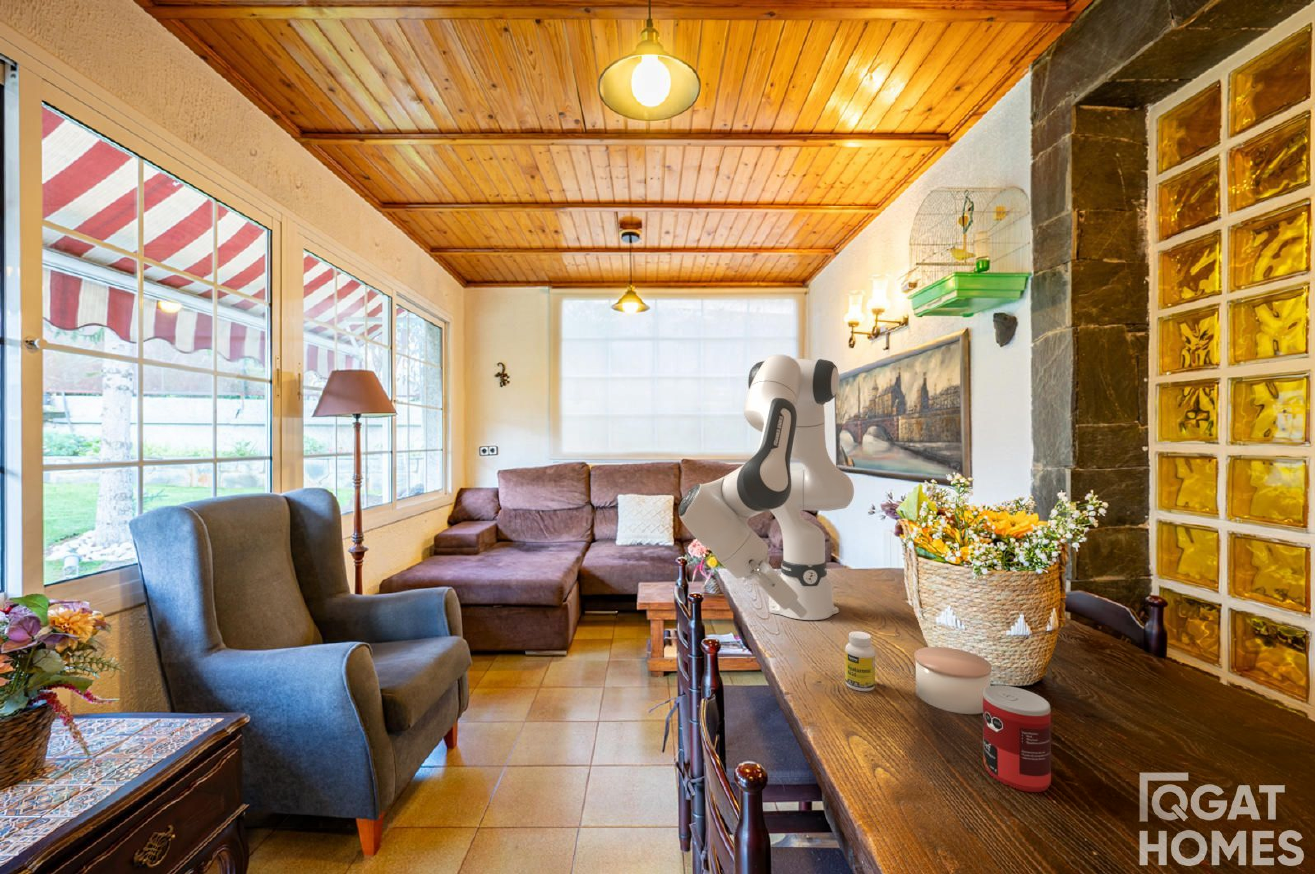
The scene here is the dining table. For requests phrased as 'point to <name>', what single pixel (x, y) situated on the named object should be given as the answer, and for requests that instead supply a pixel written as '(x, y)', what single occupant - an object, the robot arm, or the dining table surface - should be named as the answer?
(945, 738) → the dining table surface
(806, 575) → the robot arm
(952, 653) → the ceramic canister
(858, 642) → the supplement bottle
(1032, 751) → the canned food
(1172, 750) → the dining table surface
